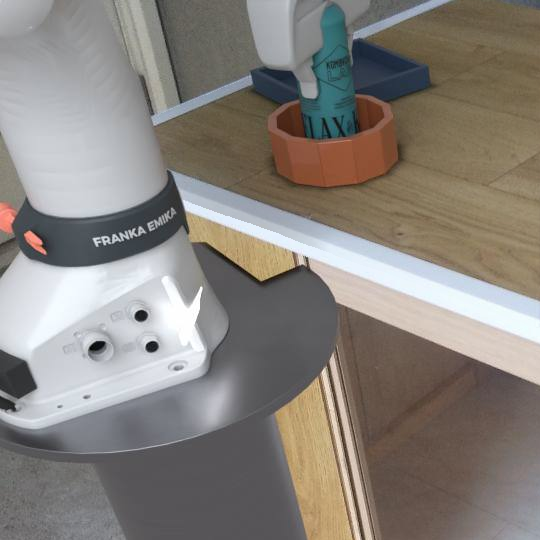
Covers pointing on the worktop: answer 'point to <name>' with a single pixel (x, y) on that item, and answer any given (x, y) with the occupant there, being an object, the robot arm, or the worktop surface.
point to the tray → (354, 75)
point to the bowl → (334, 146)
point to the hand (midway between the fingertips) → (328, 81)
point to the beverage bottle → (331, 84)
